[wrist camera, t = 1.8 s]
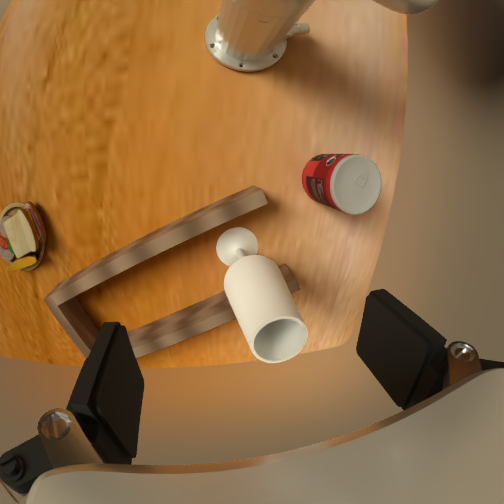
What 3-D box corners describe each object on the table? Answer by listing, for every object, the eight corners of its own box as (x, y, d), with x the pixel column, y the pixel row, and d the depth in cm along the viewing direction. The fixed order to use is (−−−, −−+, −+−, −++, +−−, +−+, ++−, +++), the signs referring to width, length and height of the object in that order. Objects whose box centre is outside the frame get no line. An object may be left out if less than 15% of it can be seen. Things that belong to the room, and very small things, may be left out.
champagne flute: (230, 275, 44) (262, 382, 22) (207, 241, 42) (220, 334, 20) (265, 253, 44) (329, 344, 22) (245, 218, 42) (299, 288, 19)
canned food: (348, 163, 42) (388, 167, 32) (334, 207, 44) (371, 222, 34) (308, 146, 40) (343, 144, 30) (294, 194, 42) (324, 205, 32)
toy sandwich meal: (-6, 212, 32) (-20, 218, 27) (41, 190, 34) (26, 194, 29) (12, 273, 36) (0, 283, 32) (60, 260, 38) (48, 271, 34)
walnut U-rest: (253, 185, 40) (262, 189, 35) (288, 273, 46) (300, 289, 41) (57, 284, 39) (43, 299, 33) (105, 351, 45) (98, 371, 39)
